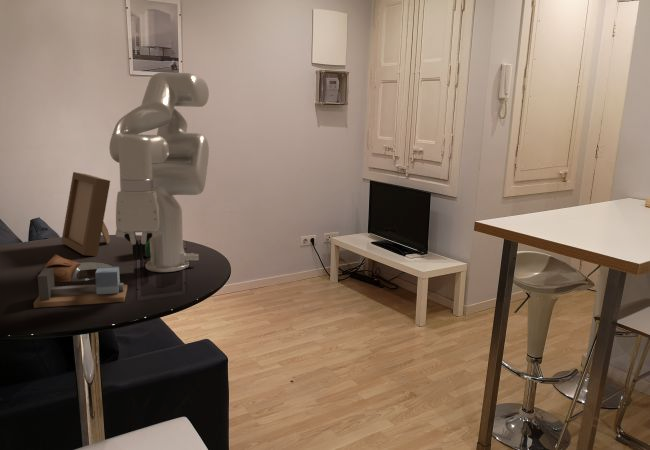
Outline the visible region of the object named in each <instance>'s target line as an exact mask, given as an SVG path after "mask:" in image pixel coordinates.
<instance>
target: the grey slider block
mask: <svg viewBox="0 0 650 450" xmlns="http://www.w3.org/2000/svg"><path fill="white" fill-rule="evenodd" d="M119 267H120V265H118V266H116V265H115V266H100V267H99V266H98V267H97V268H96V269H97V270H96V273H95V278H94V279H95V284H96V293H97V294H113V293H118V292H119V288H118V284H119V283H121V280H120V279H121V278H120V276H121V275H119Z"/></svg>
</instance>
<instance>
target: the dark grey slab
mask: <svg viewBox="0 0 650 450" xmlns="http://www.w3.org/2000/svg"><path fill="white" fill-rule="evenodd" d="M43 268H44V267H43ZM43 268H42V269H43ZM41 271H42V270H41ZM41 271H40V272H39V274H38V275H37V284H38V296H39V297H40V301H41V300H49V299H50V298H51V288H52V287H56V286H55V285H56V284H55V283H56V282H54V271H53V268H44V269H43V271H42V272H41Z"/></svg>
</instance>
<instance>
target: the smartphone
mask: <svg viewBox="0 0 650 450" xmlns="http://www.w3.org/2000/svg"><path fill="white" fill-rule="evenodd" d="M96 270H97V268H89V269H81V270H78V272H77V279H79V280H83V279H84V280H85V279H96V278H95V273H96ZM134 274H135V268H134V266H132V265H131V266H128V265H127V266H119V275H120V276H127V275H128V276H129V275H134Z"/></svg>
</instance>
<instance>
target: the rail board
mask: <svg viewBox="0 0 650 450" xmlns="http://www.w3.org/2000/svg"><path fill="white" fill-rule="evenodd" d="M118 288H119V292H118V293H113V294H97V293H96V283H95V284H83V285H81V284H80V285H65V286H64V285H63V286H55V287H52V288H51V298H50V299H49V300H41V301H40V297H39V295H38V297H36V299H35V300H34V302H33V308H34V309H36V308H49V307H50V308H51V307H52V308H53V307H64V306H80V305H83V306H84V305H95V304H110V303H122V302H124V303H125V300H126V295H127V292H128V284H125V283H124V282H120V283H119V284H118Z"/></svg>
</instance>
